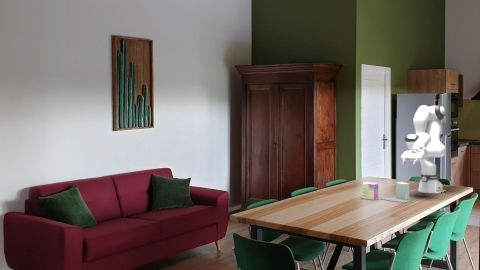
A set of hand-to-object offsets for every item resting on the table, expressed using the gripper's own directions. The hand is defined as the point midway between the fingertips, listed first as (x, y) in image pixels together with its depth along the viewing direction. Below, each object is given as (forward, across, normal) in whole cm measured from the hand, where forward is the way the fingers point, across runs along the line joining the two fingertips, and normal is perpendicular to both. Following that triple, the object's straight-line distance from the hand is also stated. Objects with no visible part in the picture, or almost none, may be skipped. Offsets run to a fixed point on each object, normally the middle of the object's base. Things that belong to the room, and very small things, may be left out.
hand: (408, 163), depth 387 cm
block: (+23, -1, +14) cm, 27 cm away
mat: (+29, 0, +9) cm, 30 cm away
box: (+36, -15, +1) cm, 39 cm away
